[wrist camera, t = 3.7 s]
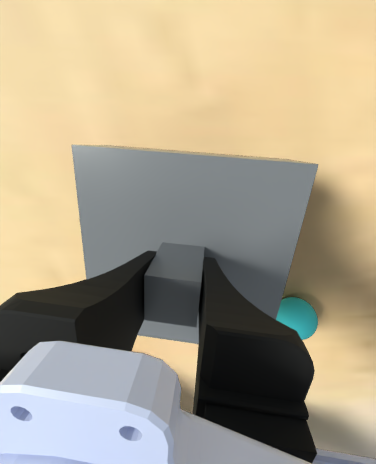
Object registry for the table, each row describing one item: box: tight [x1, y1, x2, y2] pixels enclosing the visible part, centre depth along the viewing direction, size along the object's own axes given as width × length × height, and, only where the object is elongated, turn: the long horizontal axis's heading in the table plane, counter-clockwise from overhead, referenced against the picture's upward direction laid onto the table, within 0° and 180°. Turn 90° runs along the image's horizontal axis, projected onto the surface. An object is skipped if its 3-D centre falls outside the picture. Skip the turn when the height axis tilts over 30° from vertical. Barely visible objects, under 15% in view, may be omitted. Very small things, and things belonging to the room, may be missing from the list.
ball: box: [276, 297, 318, 340], centre depth 22 cm, size 4×4×4 cm
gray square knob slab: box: [72, 145, 318, 344], centre depth 14 cm, size 12×12×8 cm
